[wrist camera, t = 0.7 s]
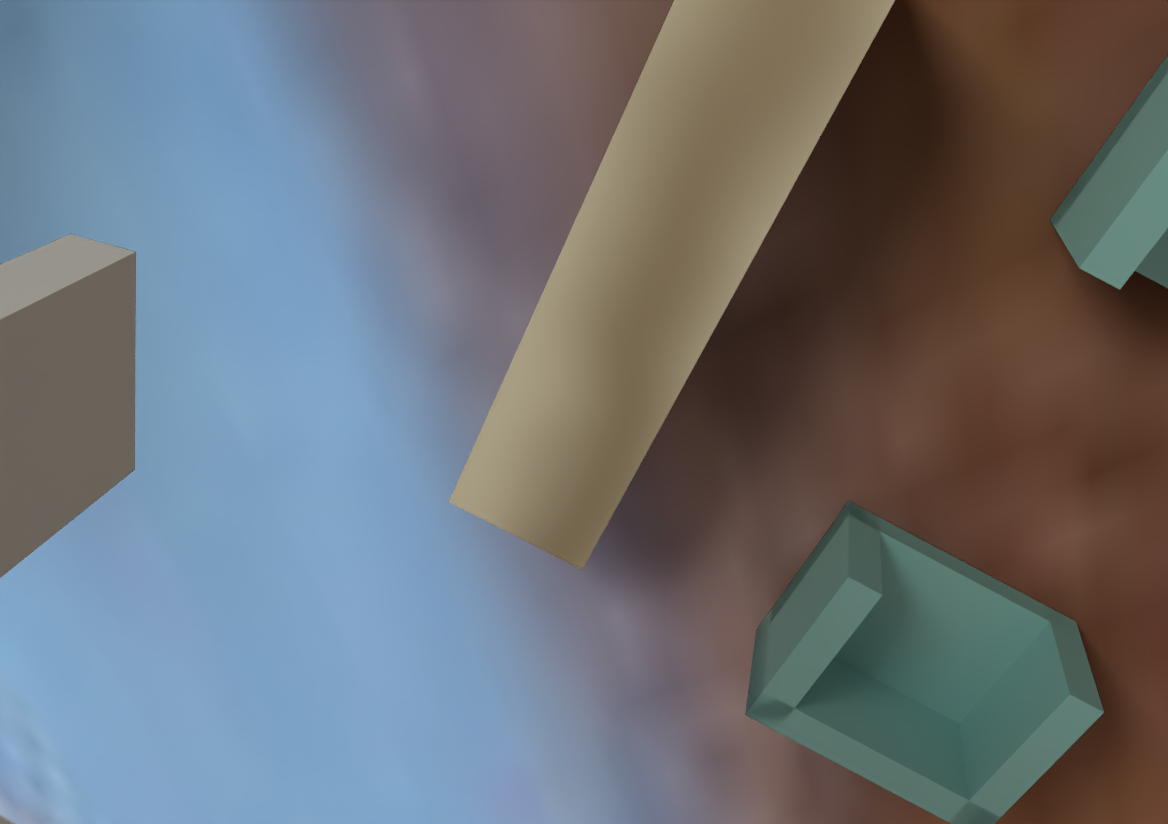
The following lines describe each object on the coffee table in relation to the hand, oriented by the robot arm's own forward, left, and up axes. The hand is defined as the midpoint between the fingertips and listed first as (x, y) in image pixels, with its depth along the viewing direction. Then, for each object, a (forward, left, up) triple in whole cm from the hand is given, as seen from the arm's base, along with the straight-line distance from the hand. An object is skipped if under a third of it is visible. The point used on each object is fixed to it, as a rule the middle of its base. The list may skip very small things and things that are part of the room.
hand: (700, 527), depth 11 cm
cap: (+10, -11, -19) cm, 24 cm away
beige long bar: (-2, -3, -19) cm, 19 cm away
